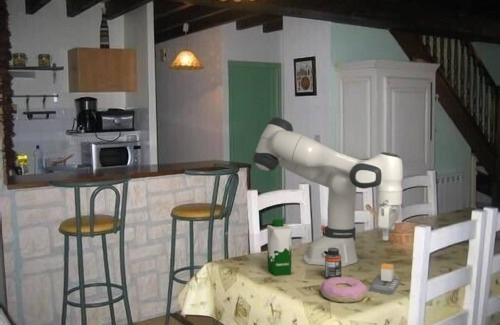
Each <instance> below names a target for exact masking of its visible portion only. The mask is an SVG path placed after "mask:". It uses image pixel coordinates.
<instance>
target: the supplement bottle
mask: <svg viewBox="0 0 500 325" xmlns="http://www.w3.org/2000/svg"><path fill="white" fill-rule="evenodd" d="M324 269H325V270H324V273H325V274H324V275H325V280H327V279H330V278H334V277H342V267H341V255H340V254H339V249H338V248H328V253H327V254H326V255H325V265H324Z"/></svg>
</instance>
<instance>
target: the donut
mask: <svg viewBox="0 0 500 325" xmlns="http://www.w3.org/2000/svg"><path fill="white" fill-rule="evenodd" d="M320 284H321V285H320V293H321V294H322V296H323V297H324V298H326V299H328V300H329V301H331V302H334V301H335V303H343V302H344V304H345V303H346V304H348V303H349V302H350V303H356V302H357V303H358V302H360V301H362V300H363V299H364V298H365V297H367V294H368V291H367V286H366V285H365V284H364V283H363V282H362V281H361V280H359V279H356V278H353V277H347V276H346V277H345V276H341V277H334V278H330V279H324V280H323V282H322V283H320Z"/></svg>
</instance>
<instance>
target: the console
mask: <svg viewBox="0 0 500 325" xmlns="http://www.w3.org/2000/svg"><path fill="white" fill-rule="evenodd" d="M400 283H401V279H400V278H397V275H394V274H393V280H392V281H391V282H389V281H382V280H381V275H378V276H377V277H376V278H375V280H374V281H373V282H372V283H371V285H370V286H369V287H368V292H372V291H373V293H374V292H375V293H378V292H379V294H386V295H394V293H395V291H396V290H397V288H398V287H399V285H400Z"/></svg>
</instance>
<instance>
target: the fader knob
mask: <svg viewBox="0 0 500 325" xmlns="http://www.w3.org/2000/svg"><path fill="white" fill-rule="evenodd" d="M394 267H395V265H394V264H391V263H384V262H383V263H382V264H381V265H380V269H381V270H380V276H381V280H382V281H389V282H391V281H392V280H393V275H394Z"/></svg>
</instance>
